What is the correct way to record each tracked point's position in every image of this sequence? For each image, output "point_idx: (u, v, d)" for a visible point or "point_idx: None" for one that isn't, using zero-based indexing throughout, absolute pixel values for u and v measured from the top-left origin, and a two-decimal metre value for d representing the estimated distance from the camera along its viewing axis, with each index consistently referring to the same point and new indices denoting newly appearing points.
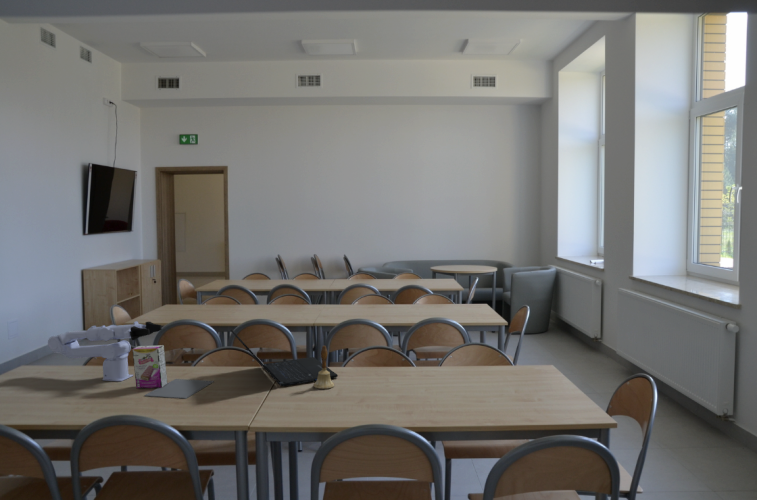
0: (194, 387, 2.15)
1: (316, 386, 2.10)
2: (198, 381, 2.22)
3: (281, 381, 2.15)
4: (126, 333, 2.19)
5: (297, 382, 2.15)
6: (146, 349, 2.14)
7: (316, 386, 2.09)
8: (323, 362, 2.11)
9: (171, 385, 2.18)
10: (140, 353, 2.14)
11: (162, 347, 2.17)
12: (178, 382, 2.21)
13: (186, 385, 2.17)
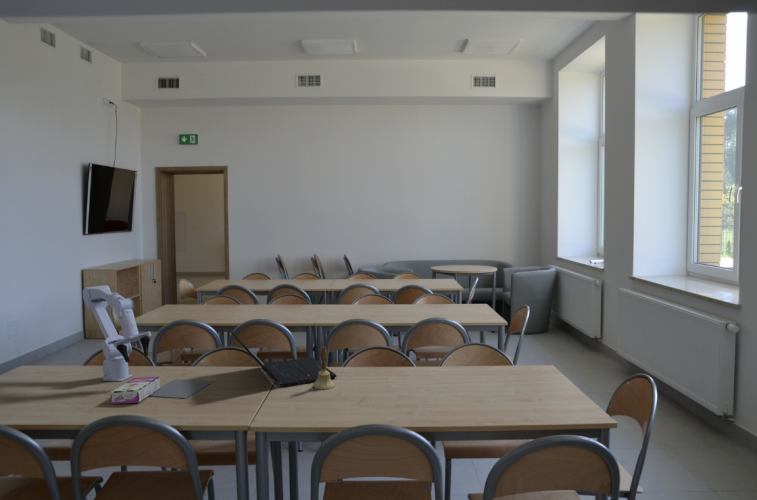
0: (194, 387, 2.15)
1: (317, 387, 2.09)
2: (198, 381, 2.22)
3: (280, 381, 2.15)
4: None
5: (296, 382, 2.15)
6: (127, 402, 1.99)
7: (317, 388, 2.09)
8: (323, 363, 2.10)
9: (171, 385, 2.18)
10: None
11: (139, 393, 1.99)
12: (178, 382, 2.21)
13: (186, 385, 2.17)
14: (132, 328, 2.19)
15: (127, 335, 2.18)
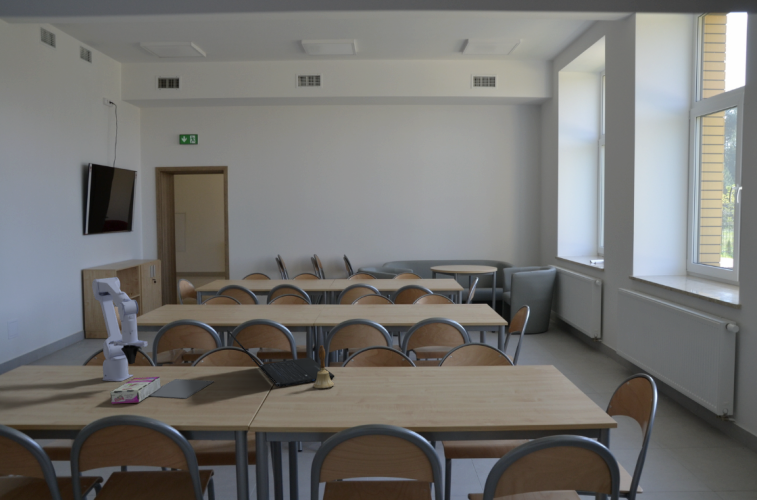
0: (194, 387, 2.15)
1: (319, 386, 2.09)
2: (198, 381, 2.22)
3: (278, 382, 2.15)
4: None
5: (294, 383, 2.14)
6: (127, 402, 1.99)
7: (320, 387, 2.09)
8: (322, 362, 2.12)
9: (171, 385, 2.18)
10: None
11: (139, 393, 1.99)
12: (178, 382, 2.21)
13: (186, 385, 2.17)
14: (130, 335, 2.16)
15: (124, 341, 2.16)
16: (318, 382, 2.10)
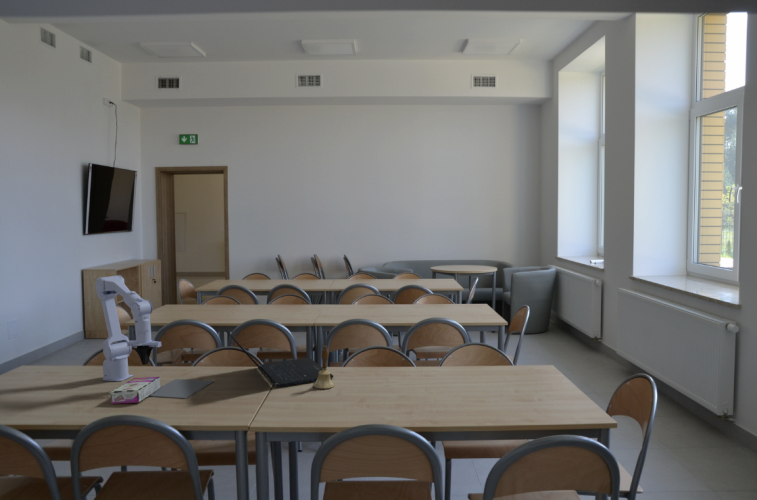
0: (194, 387, 2.15)
1: (321, 387, 2.09)
2: (198, 381, 2.22)
3: (276, 382, 2.14)
4: None
5: (292, 383, 2.14)
6: (127, 402, 1.99)
7: (321, 387, 2.08)
8: (325, 362, 2.11)
9: (171, 385, 2.18)
10: None
11: (139, 393, 1.99)
12: (178, 382, 2.21)
13: (186, 385, 2.17)
14: (143, 335, 2.14)
15: (138, 341, 2.14)
16: (319, 382, 2.10)
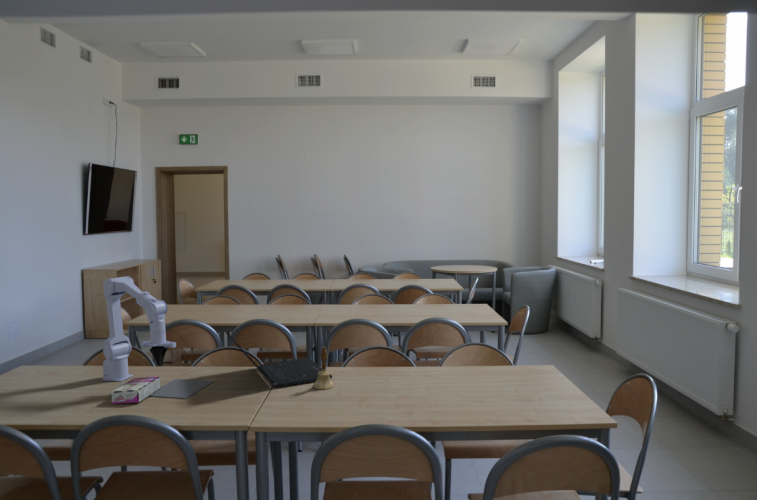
0: (194, 387, 2.15)
1: (322, 388, 2.09)
2: (198, 381, 2.22)
3: (275, 382, 2.14)
4: None
5: (291, 383, 2.14)
6: (127, 402, 1.99)
7: (322, 388, 2.08)
8: (324, 363, 2.11)
9: (171, 385, 2.18)
10: None
11: (139, 393, 1.99)
12: (178, 382, 2.21)
13: (186, 385, 2.17)
14: (158, 336, 2.13)
15: (152, 342, 2.13)
16: (320, 383, 2.10)
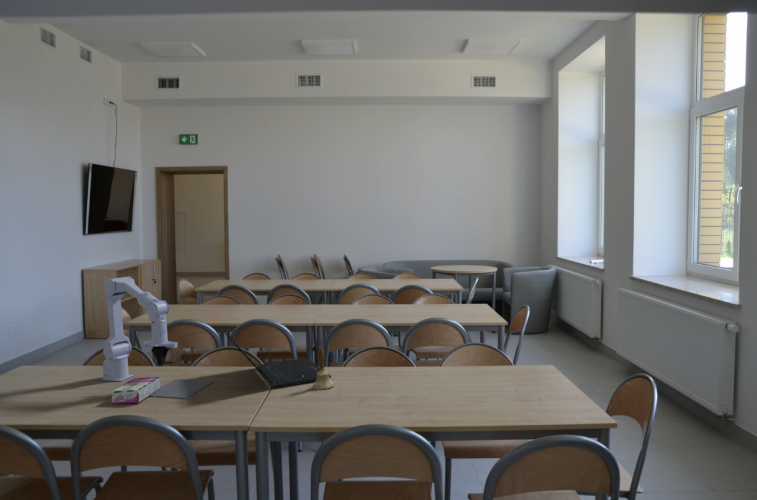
0: (194, 387, 2.15)
1: (323, 388, 2.09)
2: (198, 381, 2.22)
3: (274, 382, 2.14)
4: None
5: (290, 383, 2.14)
6: (127, 402, 1.99)
7: (323, 388, 2.08)
8: (322, 363, 2.11)
9: (171, 385, 2.18)
10: None
11: (139, 393, 1.99)
12: (178, 382, 2.21)
13: (186, 385, 2.17)
14: (160, 336, 2.12)
15: (154, 342, 2.12)
16: (320, 383, 2.09)
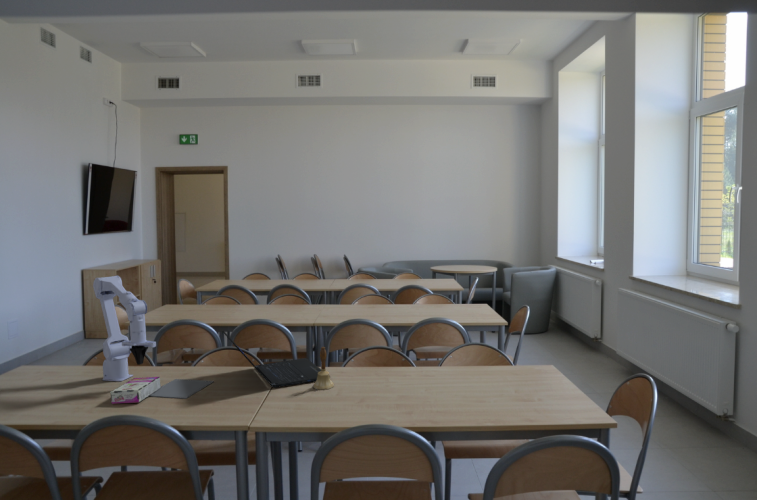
0: (194, 387, 2.15)
1: (324, 388, 2.09)
2: (198, 381, 2.22)
3: (273, 382, 2.14)
4: None
5: (289, 383, 2.13)
6: (127, 402, 1.99)
7: (324, 388, 2.09)
8: (324, 363, 2.11)
9: (171, 385, 2.18)
10: None
11: (139, 393, 1.99)
12: (178, 382, 2.21)
13: (186, 385, 2.17)
14: (138, 335, 2.15)
15: (132, 341, 2.15)
16: (321, 384, 2.09)
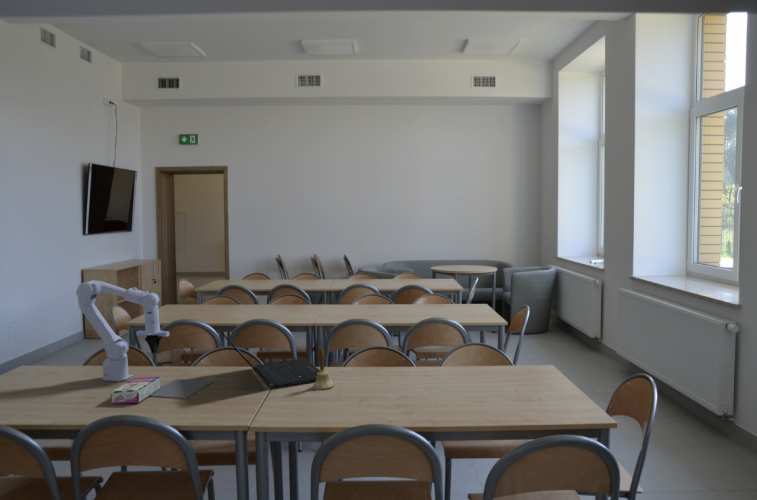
0: (194, 387, 2.15)
1: (325, 387, 2.09)
2: (198, 381, 2.22)
3: (271, 383, 2.13)
4: None
5: (287, 384, 2.13)
6: (127, 402, 1.99)
7: (326, 388, 2.09)
8: (322, 362, 2.11)
9: (171, 385, 2.18)
10: None
11: (139, 393, 1.99)
12: (178, 382, 2.21)
13: (186, 385, 2.17)
14: (153, 325, 2.28)
15: (147, 331, 2.28)
16: (322, 383, 2.09)
